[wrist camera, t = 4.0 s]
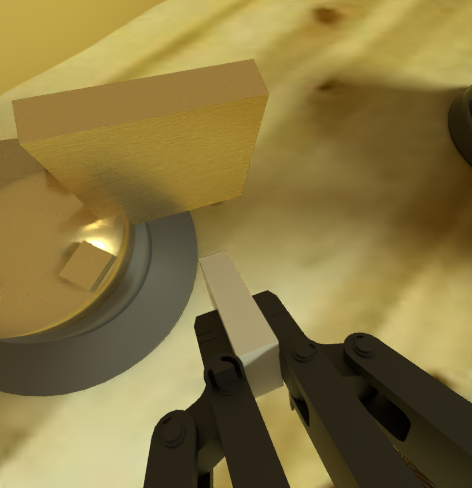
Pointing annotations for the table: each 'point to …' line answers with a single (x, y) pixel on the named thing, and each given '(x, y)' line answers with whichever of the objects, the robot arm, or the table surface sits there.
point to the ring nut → (112, 181)
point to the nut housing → (111, 319)
